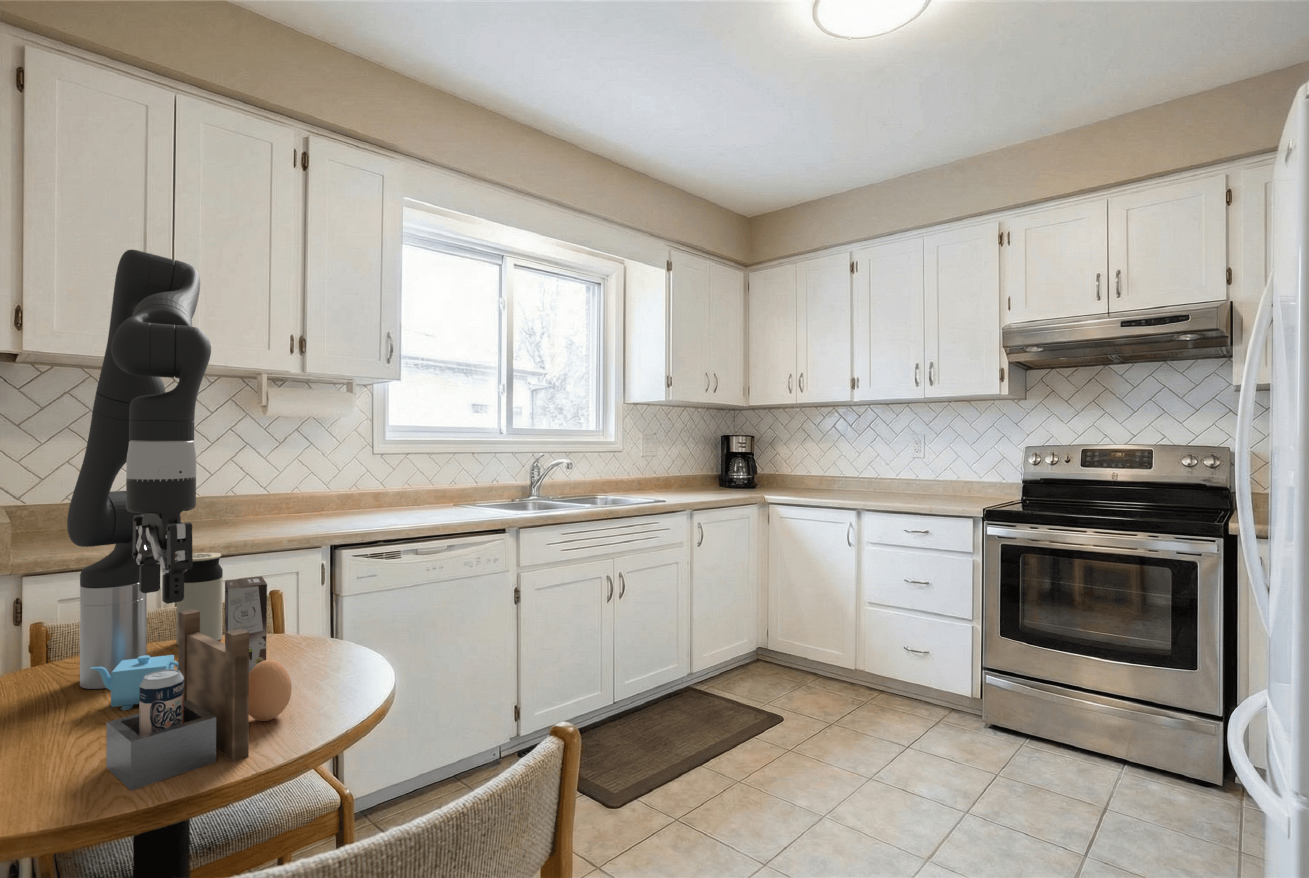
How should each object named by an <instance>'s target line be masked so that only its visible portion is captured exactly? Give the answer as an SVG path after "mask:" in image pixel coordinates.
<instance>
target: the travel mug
mask: <svg viewBox="0 0 1309 878" xmlns="http://www.w3.org/2000/svg"><path fill="white" fill-rule="evenodd" d="M221 557H222V554H221V553H219V552H198V553H197V552H196V553H193V567H192V569H187V571H186V572H184V599H183V600H182V601H180V602H176V638H175V639H176V645H178V612H180V611H185V610H191V609H195V610H197V611H200V633H201V634H204V635H206V636H208V637H210V638H212V639H215V640H217V641H220V640H221V639H222V638H223V585H224V584H223V579H224V578H223V577H224V576H223V572H224V571H223V568H222V566H221V564H220V559H221Z"/></svg>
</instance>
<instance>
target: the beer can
mask: <svg viewBox="0 0 1309 878" xmlns="http://www.w3.org/2000/svg"><path fill="white" fill-rule="evenodd" d="M138 705H139V707H138V708H139V712H138V713H139V736H141V735H145V734H148V733H152V732H155V731H158V730H162V729H165V728H169V727H172V726H176V725H179V724H182V723H184V677H183V675H182V674H181V672H180V671H179V670H177V668H176V669H175V668H174V669H166V670H160V671H155V672H152V673H149V674H147V675H145V677H144V679H143V681H142V683H141V684H140V699H139V704H138Z"/></svg>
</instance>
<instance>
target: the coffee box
mask: <svg viewBox="0 0 1309 878" xmlns="http://www.w3.org/2000/svg"><path fill="white" fill-rule="evenodd" d="M267 612H268V583H267V582H266V580H265V579H264V577H263V576H254V577H253V576H252V577H243V578H237V579H227V580H224V633H225V632H228V631H233V630H237V629H243V630H246V631H248V632H249V673H250V671H251V670H252V669H253V668H254V667H255V666H256V665H257V664H258V663H260V662H262V661H264V660H267V628H268V626H267V625H268V624H267V623H268V620H267V619H268V618H267V617H268V613H267Z"/></svg>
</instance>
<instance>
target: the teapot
mask: <svg viewBox="0 0 1309 878" xmlns="http://www.w3.org/2000/svg"><path fill="white" fill-rule="evenodd" d="M175 667H177V668H176V670H178V660H177V661H176V660H175V655H174V654H169V655H158V656H151V655H147V654H146V655H144V656H140V657H138V658H137V659H130V660H122V661H121V662H120V663H119V664H118V665H117V667H116V668H115V669H114V670H113V671H112V672H111V676H110V675H109V673H108V671H107V669H106V668H104V667H91V668H90V669H94V670H96V671H98V672H99V673H100V674H101V676H102V679H103V682H104V685H105V686H106V688H105V689H107V690H108V691H110V708H115V707H116V708H117V707H121V708H120V710H121V711H128V710H131V709H133V707H134V705H139V699H140V684H141V683H142V681H143V679H144V677H145V675H147V674H149V673H152V672H155V671H160V670H166V669H175Z"/></svg>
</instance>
